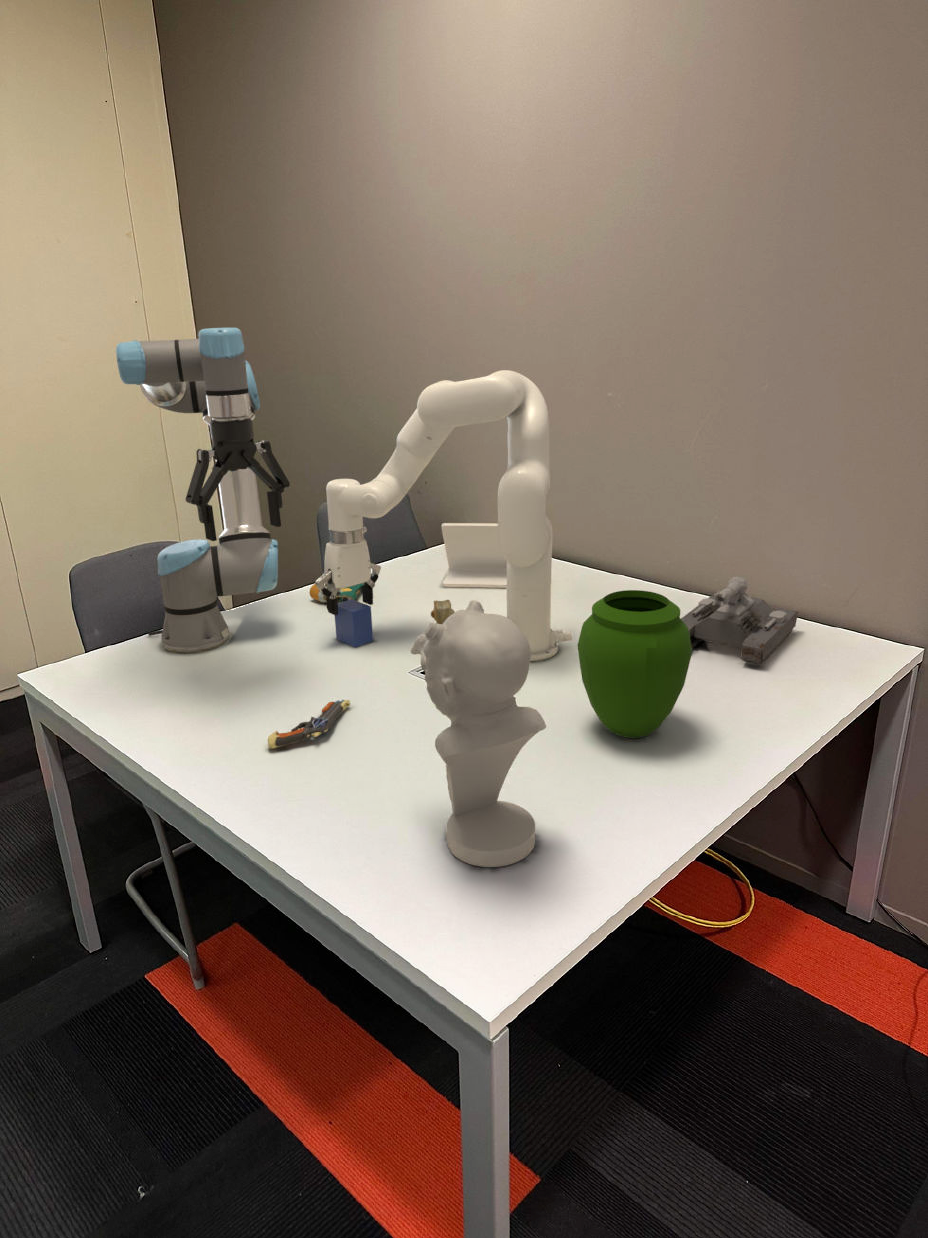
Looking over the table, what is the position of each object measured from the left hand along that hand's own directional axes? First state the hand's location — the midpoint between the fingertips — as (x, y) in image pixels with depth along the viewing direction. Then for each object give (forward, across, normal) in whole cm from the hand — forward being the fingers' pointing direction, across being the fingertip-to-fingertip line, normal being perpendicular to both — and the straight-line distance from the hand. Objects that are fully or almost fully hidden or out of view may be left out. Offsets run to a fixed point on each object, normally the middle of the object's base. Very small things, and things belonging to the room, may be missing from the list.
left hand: (244, 532), depth 161 cm
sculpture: (+33, -32, +20) cm, 50 cm away
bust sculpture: (+33, +4, +65) cm, 73 cm away
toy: (+33, -87, +54) cm, 108 cm away
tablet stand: (+33, -83, -19) cm, 91 cm away
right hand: (+25, -29, -9) cm, 39 cm away
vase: (+33, -38, +63) cm, 80 cm away
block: (+33, -29, -9) cm, 45 cm away
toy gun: (+33, +2, +21) cm, 39 cm away
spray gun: (+33, -45, -36) cm, 66 cm away
